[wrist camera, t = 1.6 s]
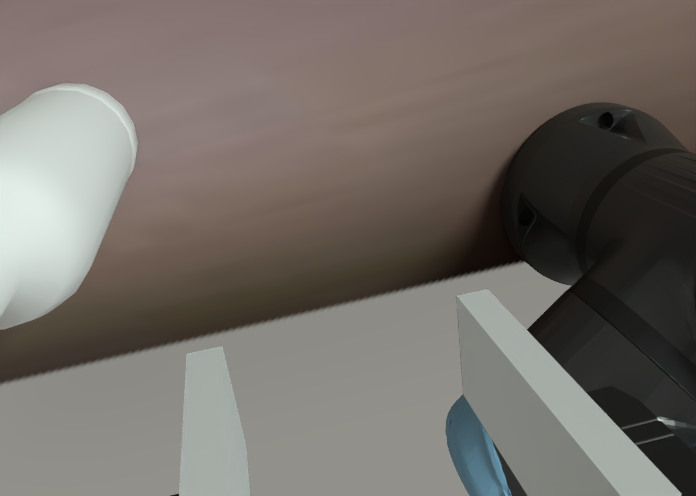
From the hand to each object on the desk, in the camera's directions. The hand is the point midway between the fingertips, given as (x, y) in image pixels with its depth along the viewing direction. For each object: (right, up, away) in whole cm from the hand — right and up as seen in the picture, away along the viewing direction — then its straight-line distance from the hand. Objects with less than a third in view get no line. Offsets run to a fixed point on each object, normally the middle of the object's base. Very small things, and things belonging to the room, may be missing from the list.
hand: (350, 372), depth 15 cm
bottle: (-19, +10, +30) cm, 37 cm away
